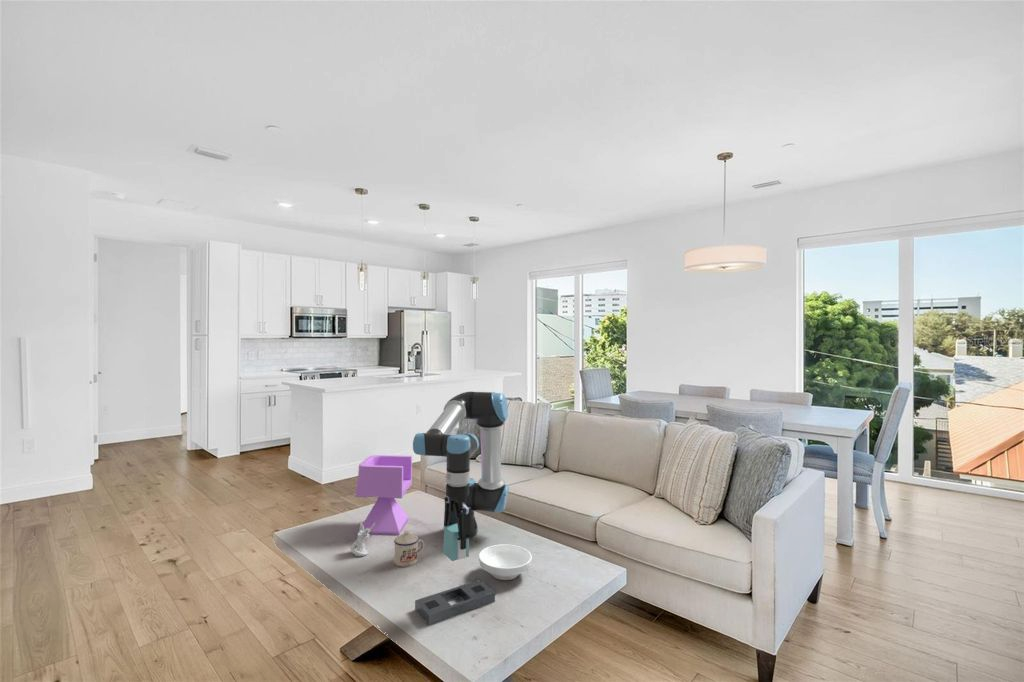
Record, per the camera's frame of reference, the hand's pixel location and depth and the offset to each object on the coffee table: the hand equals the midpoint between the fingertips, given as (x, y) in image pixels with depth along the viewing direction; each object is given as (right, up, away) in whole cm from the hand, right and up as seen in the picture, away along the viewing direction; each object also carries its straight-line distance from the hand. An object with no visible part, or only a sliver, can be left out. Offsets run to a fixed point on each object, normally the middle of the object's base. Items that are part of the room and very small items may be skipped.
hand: (456, 554), depth 158 cm
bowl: (+16, -17, +21) cm, 31 cm away
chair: (-40, -15, +63) cm, 76 cm away
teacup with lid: (-22, -16, +30) cm, 41 cm away
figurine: (-41, -16, +37) cm, 58 cm away
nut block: (0, 0, 0) cm, 0 cm away
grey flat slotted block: (0, -17, 0) cm, 17 cm away
